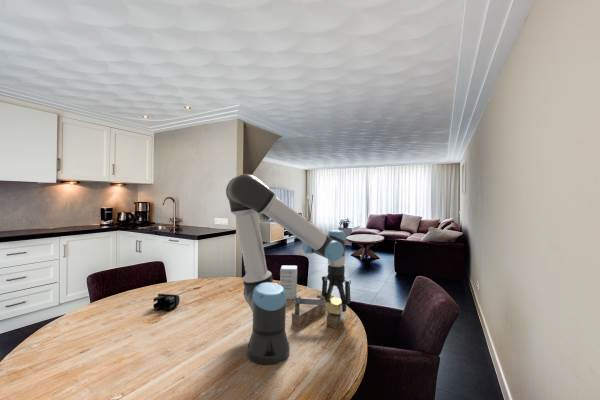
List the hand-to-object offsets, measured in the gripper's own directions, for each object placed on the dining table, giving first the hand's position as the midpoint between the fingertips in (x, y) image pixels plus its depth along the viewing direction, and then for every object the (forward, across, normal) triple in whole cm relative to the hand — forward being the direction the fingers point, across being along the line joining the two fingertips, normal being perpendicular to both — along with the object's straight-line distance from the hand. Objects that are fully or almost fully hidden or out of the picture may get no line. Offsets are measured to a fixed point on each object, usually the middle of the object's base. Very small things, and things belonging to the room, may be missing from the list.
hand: (335, 316), depth 125 cm
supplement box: (+3, +38, -14) cm, 40 cm away
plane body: (+3, +13, +2) cm, 13 cm away
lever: (-7, +8, +10) cm, 14 cm away
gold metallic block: (-3, 0, 0) cm, 3 cm away
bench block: (+3, 0, 0) cm, 3 cm away
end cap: (+3, +75, +37) cm, 83 cm away
